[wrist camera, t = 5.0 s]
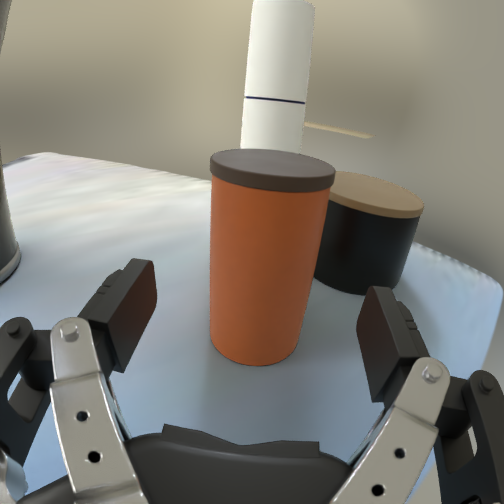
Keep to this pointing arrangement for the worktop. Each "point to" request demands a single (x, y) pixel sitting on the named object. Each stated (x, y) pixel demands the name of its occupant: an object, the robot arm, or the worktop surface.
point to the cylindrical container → (277, 75)
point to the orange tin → (263, 249)
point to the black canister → (366, 233)
